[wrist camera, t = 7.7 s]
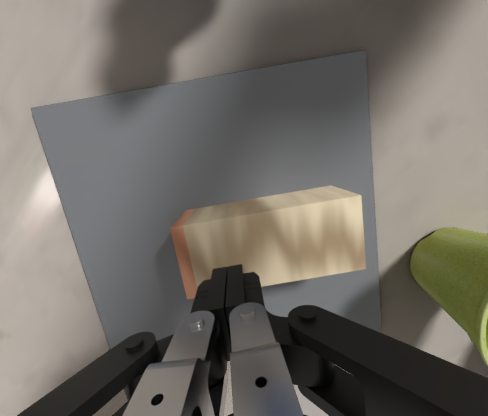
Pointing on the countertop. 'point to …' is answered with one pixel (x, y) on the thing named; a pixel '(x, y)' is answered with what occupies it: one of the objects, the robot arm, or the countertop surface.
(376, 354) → the robot arm
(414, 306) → the countertop surface
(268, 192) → the rubber mat
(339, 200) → the maple block
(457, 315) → the plant pot
